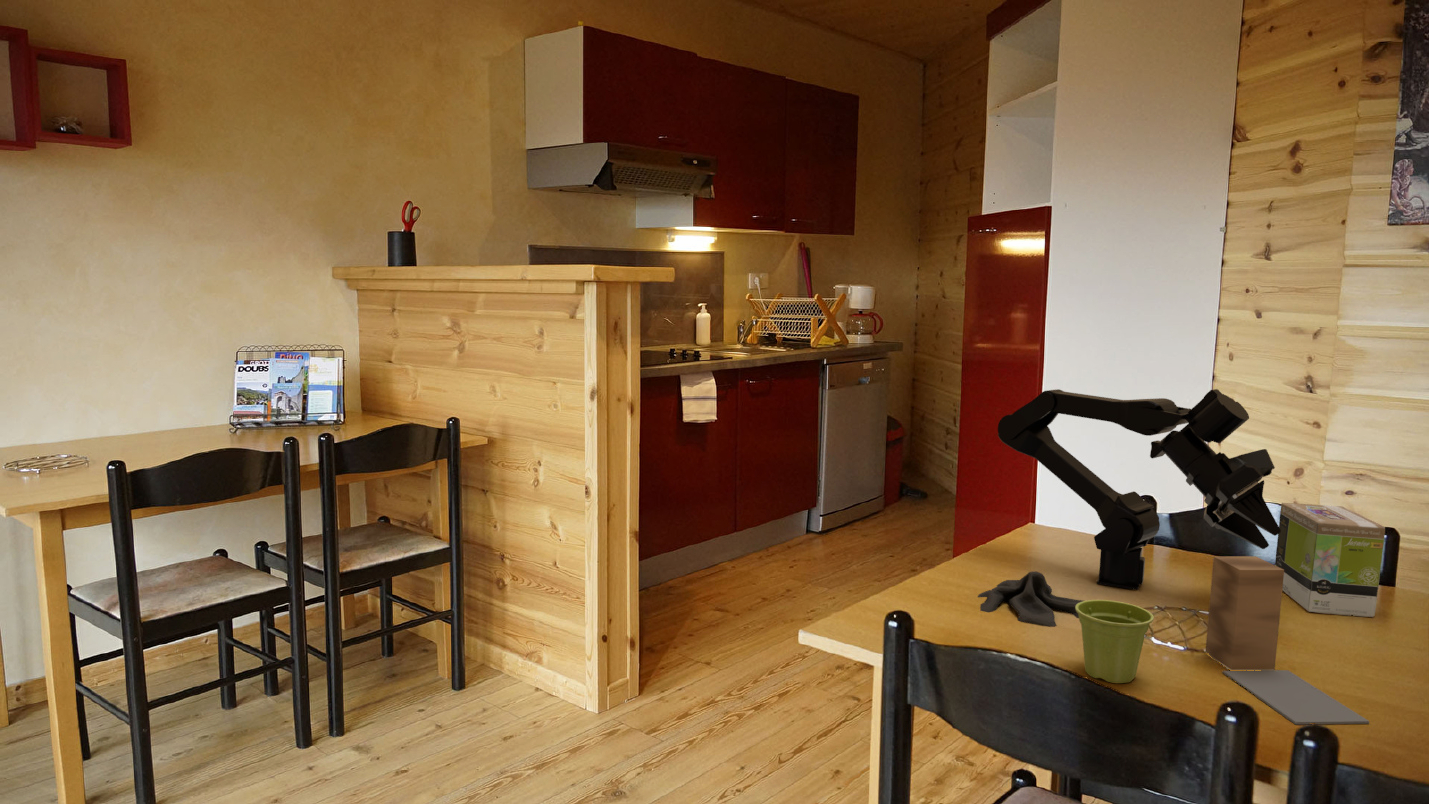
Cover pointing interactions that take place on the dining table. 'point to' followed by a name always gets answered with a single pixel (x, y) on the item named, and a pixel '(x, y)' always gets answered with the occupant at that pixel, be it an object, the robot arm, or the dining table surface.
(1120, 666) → the plant pot
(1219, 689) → the dining table surface
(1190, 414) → the robot arm
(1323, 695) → the rubber mat
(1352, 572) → the tea box
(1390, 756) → the dining table surface
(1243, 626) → the walnut block
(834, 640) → the dining table surface
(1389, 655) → the dining table surface
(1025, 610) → the cloth
